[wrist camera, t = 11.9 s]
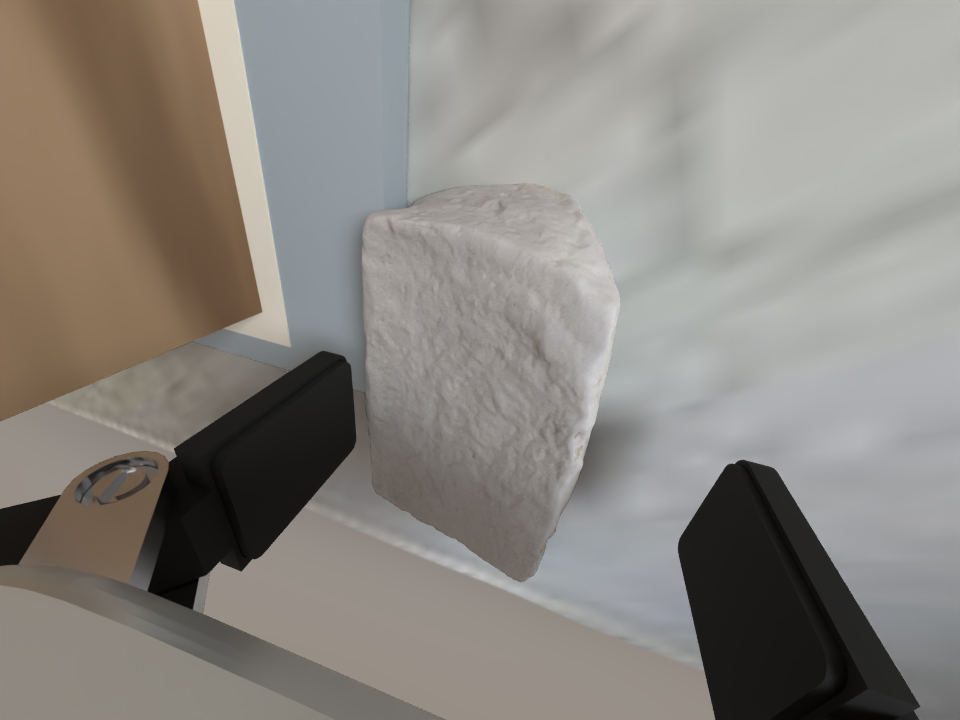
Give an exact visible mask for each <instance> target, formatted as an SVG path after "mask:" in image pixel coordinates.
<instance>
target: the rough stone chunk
mask: <svg viewBox="0 0 960 720" xmlns="http://www.w3.org/2000/svg"><path fill="white" fill-rule="evenodd" d="M362 240H363V246H362V260H361V264H362V287H363V321H364V331H365V334H366V344H367V345H366V359H365V397H366V405H365V409H366V415H367V418H368V420H369V428H368V432H369V436H370V439H371V458H372V461H371V462H372V474H373V476H372V477H373V479H372V485H373V488H374V491H375V492H376V493H377V494H378V495H380V496H382V497H383V498H385V499H386V500H388V501H389V502H391V503H392V504H394V505H395V506H397V507H398V508H400V509H401V510H403V511H407V512H409V513H410V514H411V515H412V516H413V517H415V518H416V519H418V520H419V521H421V522H423V523H426V524H428V525H432V526H433V527H435V528H436V529H437V530H438V531H440V532H443V533H444V534H445V535H447V536H449V537H451V538H455V539H457V540H458V541H459V542H461V543H463V544H464V545H465V546H466V547H467V548H468V549H469V550H471V551H472V552H474V553H475V554H477V555H478V556H479V557H480V558H482V559H483V560H484V561H486V562H488V563H490V564H491V565H493V566H494V567H495V568H497V569H499V570H500V571H502V572H503V573H505V574H506V575H507V576H509V577H511V578H512V579H514V580H517V581H519V582H523V581H526V580H527V579H528V578H529V577H531V576H533V575H534V574H535V572H536V571H537V569H538V566H539V564H540V561H541V559H542V557H543V554H544V551H545V548H546V542H547V539H549V538H550V537H551V536H552V535H553V534H554V533H555V532H556V523H557V521H558V518H559V516H560V515H561V513H562V511H563V509H564V508H565V507H566V505H567V503H568V501H569V499H570V497H571V495H572V492H573V490H574V487H575V485H576V483H577V480H578V477H579V473H580V471H581V468H582V466H583V458H584V455H585V452H586V449H587V446H588V442H589V439H590V434H591V430H592V428H593V426H594V424H595V421H596V417H597V413H598V409H599V401H600V395H601V393H602V390H603V387H604V384H605V379H606V375H607V370H608V368H609V362H610V357H611V351H612V344H613V340H614V335H615V327H616V324H617V319H618V315H619V310H620V296H619V291H618V289H617V287H616V286H615V283H614V276H613V273H612V272H611V269H610V266H609V264H608V262H607V260H606V258H605V256H604V253H603V249H602V245H601V244H600V242H599V240H598V238H597V236H596V234H595V232H594V229H593V227H592V226H591V224H590V222H589V220H588V219H587V218H586V217H585V216H584V214H583V211H582V209H581V208H580V207H579V206H578V204H577V203H576V202H575V201H574V199H573V198H572V197H570V196H569V195H566V194H562V193H560V192H558V191H555V190H552V189H549V188H547V187H544V186H539V185H535V184H524V183H523V184H514V185H492V186H468V187H460V188H453V189H449V190H444V191H441V192H436V193H434V194H431V195H429V196H426V197H423V198H420V199H418V200H417V201H416V202H414V204H413V205H412V206H410V207H408V208H403V209H395V210H391V209H386V210H382V211H377V212H373V213H371V214H369V215H368V216H367V218H366V220H365V223H364V226H363V233H362Z"/></svg>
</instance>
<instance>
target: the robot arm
mask: <svg viewBox="0 0 960 720" xmlns="http://www.w3.org/2000/svg"><path fill="white" fill-rule="evenodd" d="M355 443H356V427H355V413H354V399H353V385H352V370H351V365H350V363H348V362H347V360H346V358H345V357H344V356H343V355H339V354H335V353H331V352H327V351H321V352H318V353H317V354H315V355H314V356H312V357H311V358H309V359H308V360H306V361H305V362H303V363H302V364H300V365H299V366H297V367H296V368H294V369H293V370H291V371H290V372H288V373H287V374H285V375H284V376H282V377H281V378H279V379H278V380H276V381H275V382H273V383H272V384H270V385H269V386H267V387H266V388H264V389H263V390H261V391H260V392H258V393H257V394H255V395H254V396H252V397H251V398H249V399H248V400H246V401H245V402H243V403H242V404H240V405H239V406H237V407H236V408H234V409H233V410H231V411H230V412H228V413H227V414H225V415H224V416H222V417H221V418H219V419H218V420H216V421H215V422H213V423H212V424H210V425H209V426H207V427H206V428H204V429H203V430H201V431H200V432H198V433H197V434H195V435H194V436H192V437H191V438H189V439H188V440H186V441H185V442H183V443H182V444H180V445H179V446H177V447H176V448H174V450H175V453H176V455H177V457H176V458H174V459H173V460H171V461H170V462H168V460H167V459H166V457H165V456H163V455H161V454H159V453H156V452H149V451H141V452H131V453H127V454H123V455H119V456H115V457H113V458H110V459H107V460H105V461H102V462H100V463H98V464H96V465H94V466H93V467H91V468H89V469H87V470H85V471H84V472H83V473H81V474H80V475H79V476H77V477H76V478H75V479H73V480H72V482H71V483H70V484H69V485H68V486H67V487H66V489H65V490H64V491H63V493H62V495H58V496H54V497H49V498H45V499H41V500H37V501H32V502H28V503H24V504H20V505H15V506H11V507H7V508H3V509H0V720H445V719H443V718H441V717H438V716H436V715H434V714H431V713H429V712H427V711H425V710H422V709H420V708H418V707H416V706H413V705H411V704H409V703H406V702H404V701H402V700H400V699H397V698H395V697H393V696H390V695H388V694H386V693H384V692H381V691H379V690H376V689H374V688H372V687H370V686H368V685H365V684H363V683H361V682H358V681H356V680H354V679H352V678H349V677H347V676H345V675H343V674H340V673H338V672H336V671H333V670H331V669H329V668H327V667H324V666H322V665H319V664H317V663H315V662H313V661H310V660H308V659H306V658H303V657H301V656H299V655H296V654H294V653H292V652H290V651H287V650H285V649H283V648H280V647H278V646H276V645H273V644H271V643H269V642H266V641H264V640H262V639H259V638H257V637H255V636H253V635H250V634H248V633H246V632H243V631H241V630H239V629H236V628H234V627H232V626H229V625H227V624H225V623H222V622H220V621H218V620H216V619H213V618H211V617H209V616H206V615H204V614H203V610H204V604H205V599H206V593H207V587H208V581H209V576H210V571H211V570H212V569H213V568H214V567H215V566H216V565H217V563H219V562H221V563H222V564H224V565H227V566H229V567H232V568H234V569H237V570H239V571H242V570H243V569H244V568H245V567H246V566H247V564H248V563H249V562H250V561H251V560H252V559H257V558H259V557H260V556H262V555H263V554H264V552H265V551H266V550H267V549H268V548H269V547H270V546H271V544H272V543H273V542H274V541H275V540H276V539H277V537H278V536H279V535H280V534H281V533H282V532H283V530H284V529H285V528H286V527H287V526H288V525H289V523H290V522H291V521H292V520H293V519H294V517H295V516H296V515H297V514H298V513H299V512H300V511H301V510H302V508H303V507H304V506H305V505H306V504H307V503H308V501H309V500H310V499H311V498H312V497H313V496H314V494H315V493H316V492H317V491H318V490H319V489H320V487H321V486H322V485H323V484H324V483H325V482H326V480H327V479H328V478H329V477H330V476H331V475H332V473H333V472H334V471H335V470H336V469H337V468H338V466H339V465H340V464H341V463H342V462H343V461H344V459H345V458H346V457H347V456H348V455H349V454H350V452H351V451H352V450H353V448H354V446H355ZM678 553H679V558H680V563H681V567H682V572H683V576H684V581H685V585H686V590H687V594H688V599H689V603H690V608H691V612H692V616H693V621H694V625H695V630H696V634H697V639H698V643H699V648H700V652H701V657H702V661H703V666H704V670H705V675H706V679H707V684H708V688H709V693H710V697H711V702H712V706H713V711H714V715H715V720H919V719H918V717H917V716H916V714H915V712H914V711H913V710H915V709H917V708H919V707H920V705H919V704H918V702H917V700H916V699H915V697H914V695H913V694H912V692H911V691H910V689H909V687H908V686H907V684H906V682H905V681H904V679H903V677H902V676H901V674H900V672H899V671H898V669H897V668H896V666H895V664H894V663H893V661H892V659H891V658H890V656H889V654H888V653H887V651H886V650H885V648H884V646H883V645H882V643H881V641H880V640H879V638H878V636H877V635H876V633H875V631H874V630H873V628H872V627H871V625H870V623H869V622H868V620H867V618H866V617H865V615H864V613H863V612H862V610H861V609H860V607H859V605H858V604H857V602H856V600H855V599H854V597H853V595H852V594H851V592H850V591H849V589H848V587H847V586H846V584H845V582H844V581H843V579H842V577H841V576H840V574H839V572H838V571H837V569H836V568H835V566H834V564H833V563H832V561H831V559H830V558H829V556H828V554H827V553H826V551H825V550H824V548H823V546H822V545H821V543H820V541H819V540H818V538H817V536H816V535H815V533H814V531H813V530H812V528H811V527H810V525H809V523H808V522H807V520H806V518H805V517H804V515H803V513H802V512H801V510H800V509H799V507H798V505H797V504H796V502H795V500H794V499H793V497H792V495H791V494H790V492H789V491H788V489H787V487H786V486H785V484H784V482H783V481H782V479H781V477H780V476H779V474H778V473H777V471H776V470H775V469H774V468H772V467H769V466H765V465H761V464H757V463H753V462H750V461H746V460H740V461H738V462H736V464H728V465H727V466H726V467H725V469H724V470H723V472H722V473H721V475H720V476H719V478H718V479H717V481H716V483H715V484H714V486H713V487H712V489H711V490H710V492H709V493H708V495H707V497H706V498H705V500H704V501H703V503H702V504H701V506H700V507H699V509H698V511H697V512H696V514H695V515H694V517H693V518H692V520H691V521H690V523H689V525H688V526H687V528H686V529H685V531H684V532H683V534H682V535H681V537H680V540H679V544H678Z"/></svg>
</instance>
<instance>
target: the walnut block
mask: <svg viewBox="0 0 960 720" xmlns="http://www.w3.org/2000/svg"><path fill="white" fill-rule="evenodd" d="M261 312H262V307H261V302H260V297H259V293H258V288H257V283H256V278H255V273H254V269H253V264H252V259H251V254H250V249H249V245H248V240H247V235H246V230H245V225H244V221H243V216H242V211H241V206H240V201H239V196H238V192H237V187H236V182H235V177H234V172H233V168H232V163H231V158H230V153H229V148H228V144H227V139H226V134H225V129H224V124H223V120H222V115H221V110H220V105H219V100H218V96H217V91H216V86H215V81H214V76H213V72H212V67H211V62H210V57H209V52H208V48H207V43H206V38H205V33H204V28H203V24H202V19H201V14H200V9H199V4H198V0H0V421H3V420H5V419H7V418H10V417H12V416H14V415H17V414H19V413H22V412H24V411H27V410H29V409H31V408H34V407H36V406H38V405H41V404H43V403H46V402H48V401H50V400H53V399H55V398H58V397H60V396H62V395H65V394H67V393H70V392H72V391H74V390H77V389H79V388H82V387H84V386H86V385H89V384H91V383H94V382H96V381H98V380H101V379H103V378H106V377H108V376H110V375H113V374H115V373H118V372H120V371H122V370H125V369H127V368H130V367H132V366H134V365H137V364H139V363H142V362H144V361H146V360H149V359H151V358H154V357H156V356H158V355H161V354H163V353H166V352H168V351H170V350H173V349H175V348H178V347H180V346H182V345H185V344H187V343H190V342H192V341H194V340H197V339H199V338H201V337H204V336H206V335H209V334H211V333H213V332H216V331H218V330H221V329H223V328H225V327H228V326H230V325H233V324H235V323H237V322H240V321H242V320H245V319H247V318H249V317H252V316H254V315H257V314H259V313H261Z"/></svg>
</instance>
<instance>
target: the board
mask: <svg viewBox="0 0 960 720" xmlns="http://www.w3.org/2000/svg"><path fill="white" fill-rule="evenodd" d="M198 4H199V9H200V14H201V19H202V24H203V28H204V33H205V38H206V43H207V48H208V52H209V57H210V62H211V67H212V72H213V76H214V81H215V86H216V91H217V96H218V100H219V105H220V110H221V115H222V120H223V124H224V129H225V134H226V139H227V144H228V148H229V153H230V158H231V163H232V168H233V172H234V177H235V182H236V187H237V192H238V196H239V201H240V206H241V211H242V216H243V221H244V225H245V230H246V235H247V240H248V245H249V249H250V254H251V259H252V264H253V269H254V273H255V278H256V283H257V288H258V293H259V297H260V302H261V307H262V312H261V313H259V314H257V315H254V316H252V317H249V318H247V319H245V320H242V321H240V322H237V323H235V324H233V325H230V326H228V327H225V328H223V329H221V330H218V331H216V332H213V333H211V334H209V335H206V336H204V337H201V338H199V339H197V340H194V341H192V342H195V343H198V344H201V345H205V346H208V347H212V348H215V349H218V350H222V351H225V352H228V353H232V354H235V355H239V356H242V357H245V358H249V359H252V360H255V361H259V362H262V363H266V364H269V365H272V366H276V367H279V368H282V369H286V370H289V371H291V370H293V369H294V368H296V367H297V366H299V365H300V364H302V363H303V362H305V361H306V360H308V359H309V358H311V357H312V356H314V355H315V354H317V353H318V352H321V351H327V352H331V353H335V354H339V355H343V356H344V357H345V358H346V360H347V362H348V363H350V365H351V370H352V385H353V390H357V391H360V392H363V393H365V359H366V345H367V344H366V334H365V331H364V321H363V287H362V264H361V260H362V246H363V240H362V233H363V226H364V223H365V220H366V218H367V216H368V215H369V214H371V213H373V212H377V211H382V210H386V209H391V210H395V209H403V208H407V154H408V84H409V14H410V0H198Z"/></svg>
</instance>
